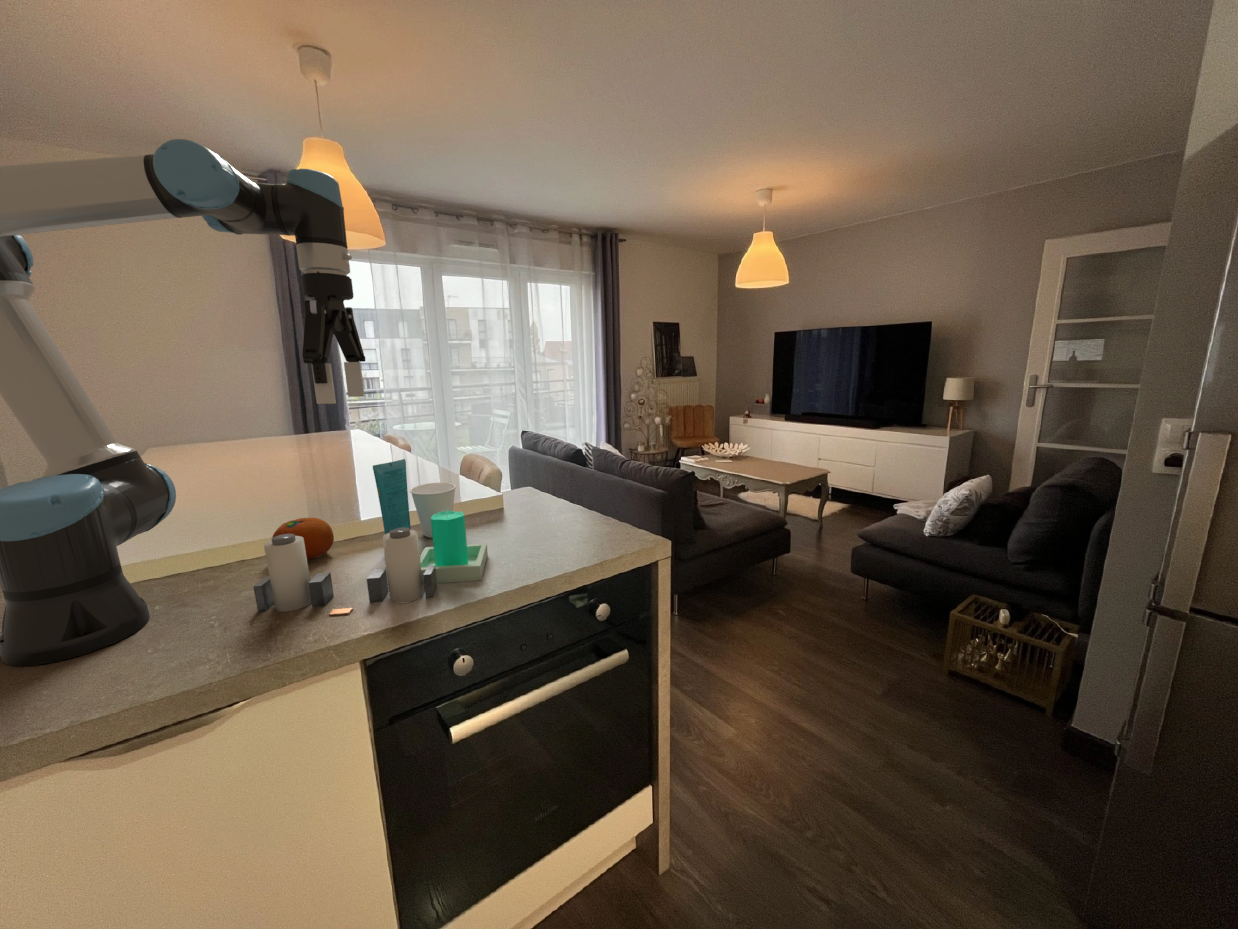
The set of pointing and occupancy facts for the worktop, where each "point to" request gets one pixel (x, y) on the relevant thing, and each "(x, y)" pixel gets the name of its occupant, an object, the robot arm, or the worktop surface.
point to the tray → (457, 572)
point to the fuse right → (403, 565)
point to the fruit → (310, 535)
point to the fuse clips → (324, 593)
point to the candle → (449, 538)
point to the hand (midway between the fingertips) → (342, 400)
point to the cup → (432, 502)
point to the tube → (393, 494)
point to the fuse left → (288, 572)
